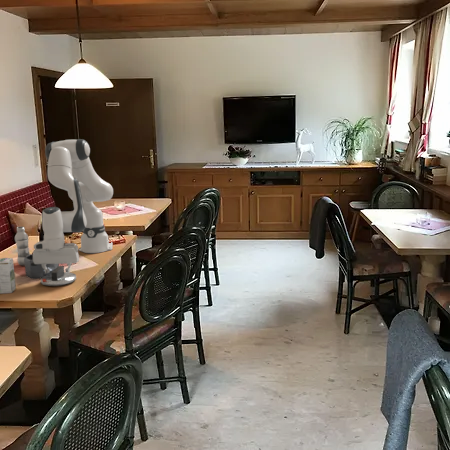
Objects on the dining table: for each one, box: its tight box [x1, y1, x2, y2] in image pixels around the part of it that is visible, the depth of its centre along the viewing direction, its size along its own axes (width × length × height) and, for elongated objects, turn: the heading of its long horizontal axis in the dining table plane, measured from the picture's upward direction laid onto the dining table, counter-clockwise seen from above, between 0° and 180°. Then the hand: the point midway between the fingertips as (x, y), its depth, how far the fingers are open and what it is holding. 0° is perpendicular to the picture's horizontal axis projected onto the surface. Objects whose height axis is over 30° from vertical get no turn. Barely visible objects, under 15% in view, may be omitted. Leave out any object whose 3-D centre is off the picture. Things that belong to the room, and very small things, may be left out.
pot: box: [24, 253, 60, 280], centre depth 246 cm, size 20×14×9 cm
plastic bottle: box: [14, 226, 31, 266], centre depth 261 cm, size 6×7×20 cm
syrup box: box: [0, 257, 17, 294], centre depth 222 cm, size 6×6×14 cm
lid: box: [40, 265, 77, 287], centre depth 234 cm, size 16×16×6 cm
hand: (57, 272), depth 233 cm, fingers open, 8 cm apart
